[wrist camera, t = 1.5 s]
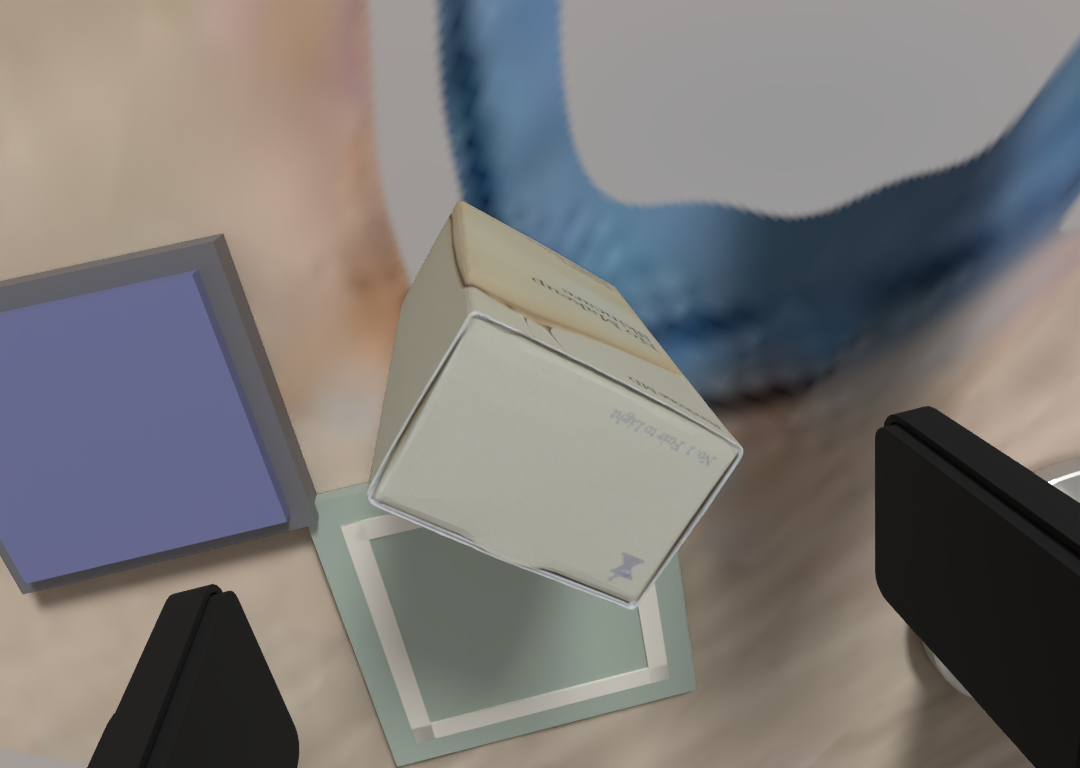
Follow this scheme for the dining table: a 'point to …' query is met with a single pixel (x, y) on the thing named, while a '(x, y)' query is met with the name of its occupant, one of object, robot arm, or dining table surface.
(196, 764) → the robot arm
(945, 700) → the dining table surface
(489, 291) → the skincare box
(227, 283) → the ink pad
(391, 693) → the marked board
